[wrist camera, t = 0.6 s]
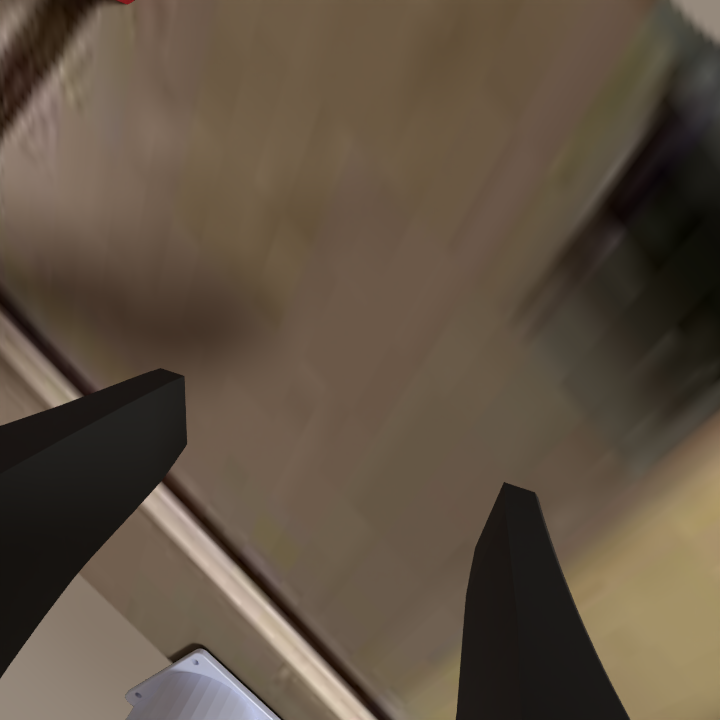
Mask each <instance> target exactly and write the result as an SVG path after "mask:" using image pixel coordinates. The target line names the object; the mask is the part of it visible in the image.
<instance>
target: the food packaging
mask: <svg viewBox="0 0 720 720" xmlns="http://www.w3.org/2000/svg"><path fill="white" fill-rule="evenodd" d="M117 1H120V2H122V3H125V4H127V5H128V4H129V3H131V2H133V1H135V0H117Z"/></svg>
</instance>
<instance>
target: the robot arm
mask: <svg viewBox="0 0 720 720" xmlns="http://www.w3.org/2000/svg"><path fill="white" fill-rule="evenodd" d="M186 445H187V430H186V406H185V381H184V376H183V375H180V374H177V373H174V372H171V371H167V370H164V369H161V368H160V369H157V370H154V371H150V372H148V373H145V374H142V375H139V376H137V377H134V378H131V379H129V380H126V381H123V382H121V383H118V384H116V385H113V386H110V387H108V388H105V389H103V390H100V391H97V392H95V393H92V394H89V395H87V396H84V397H82V398H79V399H76V400H74V401H71V402H68V403H66V404H63V405H60V406H58V407H55V408H52V409H49V410H46V411H43V412H40V413H37V414H34V415H31V416H28V417H25V418H22V419H19V420H16V421H14V422H11V423H8V424H5V425H2V426H0V678H1V677H2V675H3V674H4V672H5V671H6V669H7V668H8V666H9V665H10V663H11V662H12V661H13V659H14V658H15V657H16V655H17V654H18V652H19V651H20V649H21V648H22V647H23V645H24V644H25V643H26V641H27V640H28V638H29V637H30V636H31V634H32V633H33V632H34V630H35V629H36V627H37V626H38V624H39V623H40V622H41V620H42V619H43V618H44V616H45V615H46V614H47V613H48V611H49V610H50V609H51V607H52V606H53V605H54V603H55V602H56V601H57V599H58V598H59V597H60V595H61V594H62V593H63V591H64V590H65V589H66V588H67V586H68V585H69V584H70V582H71V581H72V580H73V578H74V577H75V576H76V575H77V574H78V572H79V571H80V570H81V569H82V568H83V567H84V565H85V564H86V563H87V562H88V561H89V560H90V558H91V557H92V556H93V555H94V554H95V553H96V552H97V551H98V550H99V549H100V548H101V547H102V545H103V544H104V543H105V542H106V541H107V540H108V539H109V538H110V537H111V536H112V535H113V533H114V532H115V531H116V530H117V529H118V528H119V527H120V526H121V525H122V524H123V523H124V522H125V520H126V519H127V518H128V517H129V516H130V515H131V514H132V513H133V512H134V511H135V510H136V509H137V507H138V506H139V505H140V504H141V503H142V502H143V501H144V500H145V499H146V498H147V496H148V495H149V494H150V493H151V492H152V491H153V490H154V489H155V488H156V486H157V485H158V484H159V483H160V482H161V481H162V479H163V478H164V477H165V475H166V474H167V473H168V471H169V470H170V468H171V467H172V466H173V464H174V463H175V461H176V460H177V458H178V457H179V455H180V454H181V452H182V451H183V449H184V448H185V447H186ZM125 698H126V700H127V701H128V702H129V703H130V704H131V705H132V706H133V707H134V708H133V709H132V711H131V712H130V714H129V715H128V717H127V718H126V720H281V719H280V718H279V717H277V716H276V715H275V714H274V713H273V712H272V711H271V710H270V709H269V708H268V707H267V706H266V705H264V704H263V703H262V702H261V701H260V700H259V699H258V698H257V697H256V696H255V695H254V694H253V693H251V692H250V691H249V690H248V689H247V688H246V687H245V686H244V685H243V684H242V683H241V682H240V681H238V680H237V679H236V678H235V677H234V676H233V675H232V674H231V673H230V672H229V671H228V670H227V669H225V668H224V667H223V666H222V665H221V664H220V663H219V662H218V661H217V660H216V659H215V658H214V657H212V656H211V655H210V654H209V653H208V652H207V651H206V650H204V649H200V648H199V649H196V650H195V651H193V652H191V653H190V654H188V655H186V656H185V657H183V658H181V659H180V660H178V661H176V662H175V663H173V664H171V665H170V666H168V667H166V668H165V669H163V670H162V671H160V672H158V673H157V674H155V675H153V676H152V677H150V678H148V679H147V680H145V681H143V682H142V683H140V684H138V685H137V686H135V687H134V688H132V689H130V690H129V691H128V692H127V694H126V695H125ZM456 720H630V718H629V716H628V714H627V713H626V711H625V709H624V707H623V705H622V703H621V701H620V699H619V697H618V695H617V694H616V692H615V690H614V688H613V686H612V684H611V682H610V680H609V678H608V676H607V674H606V672H605V670H604V668H603V665H602V663H601V661H600V659H599V657H598V655H597V653H596V651H595V649H594V646H593V644H592V642H591V640H590V637H589V635H588V633H587V631H586V629H585V626H584V624H583V622H582V619H581V617H580V615H579V612H578V610H577V608H576V605H575V603H574V600H573V598H572V595H571V593H570V590H569V588H568V585H567V582H566V580H565V577H564V575H563V572H562V570H561V567H560V564H559V561H558V559H557V556H556V553H555V550H554V547H553V544H552V541H551V539H550V536H549V532H548V529H547V526H546V523H545V520H544V517H543V513H542V510H541V507H540V503H539V499H538V497H537V495H536V494H535V492H532V491H529V490H526V489H523V488H520V487H517V486H514V485H511V484H508V483H505V482H504V483H503V486H502V488H501V490H500V493H499V495H498V497H497V499H496V502H495V504H494V506H493V508H492V511H491V513H490V515H489V518H488V520H487V522H486V524H485V527H484V529H483V531H482V533H481V536H480V538H479V540H478V543H477V545H476V547H475V552H474V557H473V562H472V567H471V572H470V577H469V582H468V588H467V593H466V602H465V614H464V626H463V639H462V652H461V664H460V677H459V690H458V703H457V715H456Z"/></svg>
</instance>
